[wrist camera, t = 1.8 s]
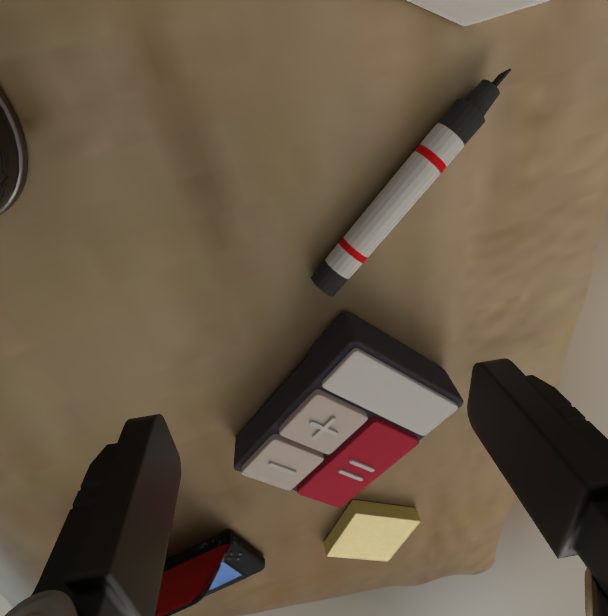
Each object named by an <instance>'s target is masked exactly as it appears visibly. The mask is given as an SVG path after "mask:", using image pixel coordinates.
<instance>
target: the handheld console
mask: <svg viewBox="0 0 608 616" xmlns="http://www.w3.org/2000/svg"><path fill="white" fill-rule="evenodd" d="M264 568H265V559H264V558H263V556H261V555H260V554H259V553H257V552H256V551H255V550H254V549H252V548H251V547H250V546H249V545H248V544H246V543H245V542H243V541H242V540H241V539H239V538H238V537H237V536H236V535H234V534H233V532H232V531H229V530H228V531H225V532H222V533H220V534H218V535H217V536H215V537H213V538H211V539H209V540H207V541H205V542H202V543H200V544H198V545H196V546H194V547H192V548H191V549H188V550H187V551H186V552H185V553H183V554H181V555H178V556H173V557H171V558H169V559H166V560H165V564H164V570H163V575H162V580H161V586H160V591H159V596H158V602H157V607H156V612H155V616H170V615H172V614H174V613H177V612H179V611H181V610H183V609H186V608H188V607H190V606H192V605H194V604H196V603H197V602H199V601H200V600H201V599H202V598H203V597H205V596H207V595H209V594H212V593H214V592H216V591H218V590H220V589H223V588H225V587H227V586H229V585H232V584H234V583H236V582H238V581H241V580H243V579H245V578H247V577H249V576H251V575H253V574H256V573H258V572H260V571H262V570H263V569H264Z"/></svg>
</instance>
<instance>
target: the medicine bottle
mask: <svg viewBox="0 0 608 616" xmlns="http://www.w3.org/2000/svg"><path fill="white" fill-rule="evenodd" d="M406 1H408V2H411V3H413V4H415V5H417V6H419V7H422V8H424V9H426V10H428V11H430V12H433V13H435V14H437V15H439V16H442V17H444V18H446V19H448V20H450V21H453V22H455V23H457V24H459V25H462V26H469V25H472V24H475V23H478V22H482V21H485V20H488V19H491V18H495V17H498V16H501V15H504V14H508V13H511V12H514V11H517V10H521V9H524V8H527V7H530V6H534V5H537V4H540V3H543V2H547V1H550V0H406Z"/></svg>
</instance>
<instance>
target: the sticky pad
mask: <svg viewBox="0 0 608 616" xmlns="http://www.w3.org/2000/svg"><path fill="white" fill-rule="evenodd" d="M420 522H421V520H420V517H419V515H418V512H417V510H416V508H413V507H405V506H398V505H390V504H383V503H375V502H367V501H360V500H352V501H351V502H350V504H349V505H348V507H347V508H346V510H345V511H344V513H343V514H342V516H341V517H340V519H339V520H338V522H337V523H336V525H335V526H334V528H333V529H332V531H331V532H330V534H329V535H328V537H327V538H326V540H325V541H324V546H325V552H326V556H328V557H340V558H352V559H364V560H376V561H389V560H390V558H391V557H392V556H393V555H394V553H395V552H396V551H397V550H398V549H399V547H400V546H401V545H402V544H403V543H404V541H405V540H406V539H407V538H408V536H409V535H410V534H411V533H412V532H413V530H414V529H415V528H416V527H417V525H418V524H419V523H420Z"/></svg>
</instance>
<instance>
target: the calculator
mask: <svg viewBox="0 0 608 616" xmlns="http://www.w3.org/2000/svg"><path fill="white" fill-rule="evenodd" d="M462 404H463V399H462V398H461V396H460V394H459V393H458V391H457V389H456V388H455V386H454V384H453V383H452V381H451V379H450V378H449V376H448V374H447V373H446V371H445V370H444V369H443V368H441V367H439V366H438V365H436V364H434V363H433V362H431V361H429V360H428V359H426V358H424V357H423V356H421V355H419V354H418V353H416V352H414V351H413V350H411V349H409V348H408V347H406V346H404V345H403V344H401V343H399V342H398V341H396V340H394V339H393V338H391V337H389V336H388V335H386V334H384V333H383V332H381V331H379V330H378V329H376V328H374V327H373V326H371V325H369V324H368V323H366V322H364V321H363V320H361V319H359V318H358V317H356V316H354V315H353V314H351V313H349V312H342V313H341V314H340V315H339V316H338V317H337V318H336V319H335V321H334V322H333V323H332V324H331V325H330V326H329V327H328V328H327V330H326V331H325V332H324V333H323V334H322V335H321V336H320V338H319V339H318V340H317V341H316V342H315V343H314V344H313V346H312V348H311V350H310V352H309V354H308V356H307V358H306V359H305V360H304V362H303V363H302V364H301V365H300V366H299V367H298V368H297V369H296V371H295V372H294V373H293V374H292V375H291V376H290V377H289V378H288V380H287V381H286V382H285V383H284V384H283V385H282V386H281V387H280V389H279V390H278V391H277V392H276V393H275V394H274V395H273V396H272V398H271V399H270V400H269V401H268V402H267V403H266V404H265V405H264V406H263V408H262V409H261V410H260V411H259V412H258V413H257V414H256V415H255V417H254V418H253V419H252V420H251V421H250V422H249V423H248V424H247V426H246V427H245V428H244V429H243V430H242V431H241V432H240V433H239V435H238V436H237V437H236V442H235V455H234V469H235V470H237V471H239V472H241V473H242V475H244V476H247V477H250V478H253V479H256V480H259V481H262V482H265V483H267V484H270V485H273V486H276V487H279V488H282V489H285V490H291V489H292V490H295V491H297V493H298V494H300V495H303V496H306V497H309V498H311V499H314V500H317V501H320V502H323V503H326V504H329V505H332V506H335V507H342V506H343V505H344V504H346V503H347V502H348V501H349V500H350V499H352V498H353V497H354V496H355V495H357V494H358V493H359V492H360V491H361V490H363V489H364V488H365V487H366V486H368V485H369V484H370V483H371V482H372V481H374V480H375V479H376V478H377V477H379V476H380V475H381V474H382V473H383V472H385V471H386V470H387V469H388V468H390V467H391V466H392V465H393V464H394V463H396V462H397V461H398V460H399V459H401V458H402V457H403V456H404V455H406V454H407V453H408V452H409V451H410V450H412V449H413V448H414V447H415V446H416V445H417V444H418V443H419V440H420V439H422V438H423V437H424V436H425V435H427V434H428V433H429V432H430V431H432V430H433V429H434V428H435V427H437V426H438V425H439V424H440V423H441V422H443V421H444V420H445V419H446V418H447V417H449V416H450V415H451V414H452V413H454V412H455V411H456V410H457V409H458V408H459V407H461V406H462Z"/></svg>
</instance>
